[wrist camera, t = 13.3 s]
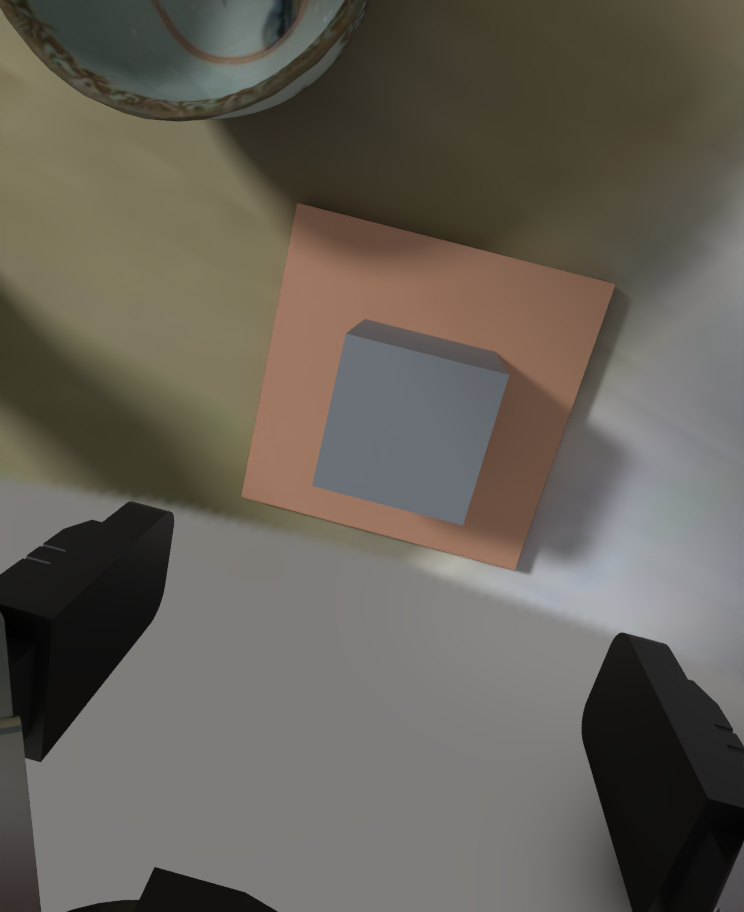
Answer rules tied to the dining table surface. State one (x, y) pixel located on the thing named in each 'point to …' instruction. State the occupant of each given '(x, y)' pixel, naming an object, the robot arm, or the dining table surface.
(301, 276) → the terracotta tile
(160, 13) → the bowl
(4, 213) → the dining table surface
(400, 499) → the slate cube
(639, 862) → the robot arm
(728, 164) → the dining table surface
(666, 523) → the dining table surface
